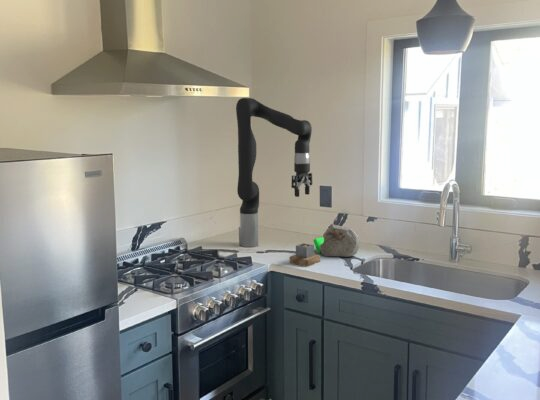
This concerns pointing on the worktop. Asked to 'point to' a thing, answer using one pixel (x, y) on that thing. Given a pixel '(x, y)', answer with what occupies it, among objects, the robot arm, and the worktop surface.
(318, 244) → the bracket
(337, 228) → the stone
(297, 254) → the link
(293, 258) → the keeper
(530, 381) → the worktop surface
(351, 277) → the worktop surface
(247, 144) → the robot arm
